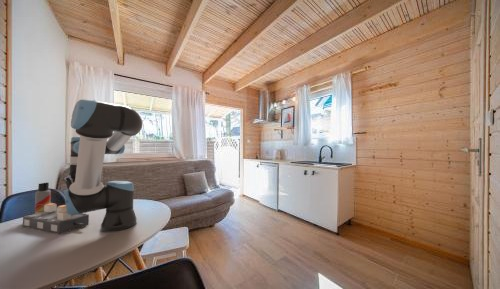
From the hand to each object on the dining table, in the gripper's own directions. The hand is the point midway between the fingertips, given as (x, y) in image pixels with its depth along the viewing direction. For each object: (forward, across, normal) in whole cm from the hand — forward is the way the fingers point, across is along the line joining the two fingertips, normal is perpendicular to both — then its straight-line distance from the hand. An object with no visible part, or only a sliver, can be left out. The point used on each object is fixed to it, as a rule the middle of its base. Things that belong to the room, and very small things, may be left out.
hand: (77, 205), depth 101 cm
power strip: (+8, +9, +3) cm, 12 cm away
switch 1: (+2, +12, +10) cm, 16 cm away
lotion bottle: (+8, +5, -20) cm, 22 cm away
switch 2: (+2, +7, 0) cm, 7 cm away
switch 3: (+2, +7, -10) cm, 12 cm away
